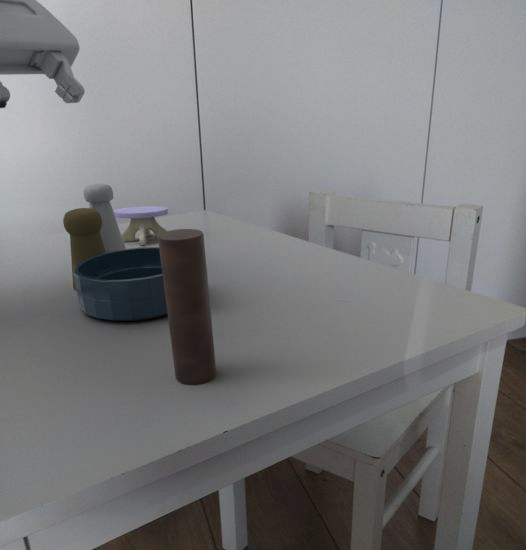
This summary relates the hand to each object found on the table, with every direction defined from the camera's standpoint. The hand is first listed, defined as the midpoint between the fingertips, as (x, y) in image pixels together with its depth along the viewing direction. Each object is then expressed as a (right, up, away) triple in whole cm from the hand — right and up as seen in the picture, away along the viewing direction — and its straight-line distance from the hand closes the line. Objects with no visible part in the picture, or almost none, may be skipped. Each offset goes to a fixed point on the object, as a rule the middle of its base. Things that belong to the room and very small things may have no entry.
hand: (42, 100), depth 50 cm
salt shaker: (-5, -9, +41) cm, 43 cm away
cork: (-6, -12, +34) cm, 37 cm away
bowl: (+3, -15, +26) cm, 30 cm away
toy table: (-3, -1, +58) cm, 58 cm away
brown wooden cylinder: (+13, -24, +6) cm, 28 cm away
